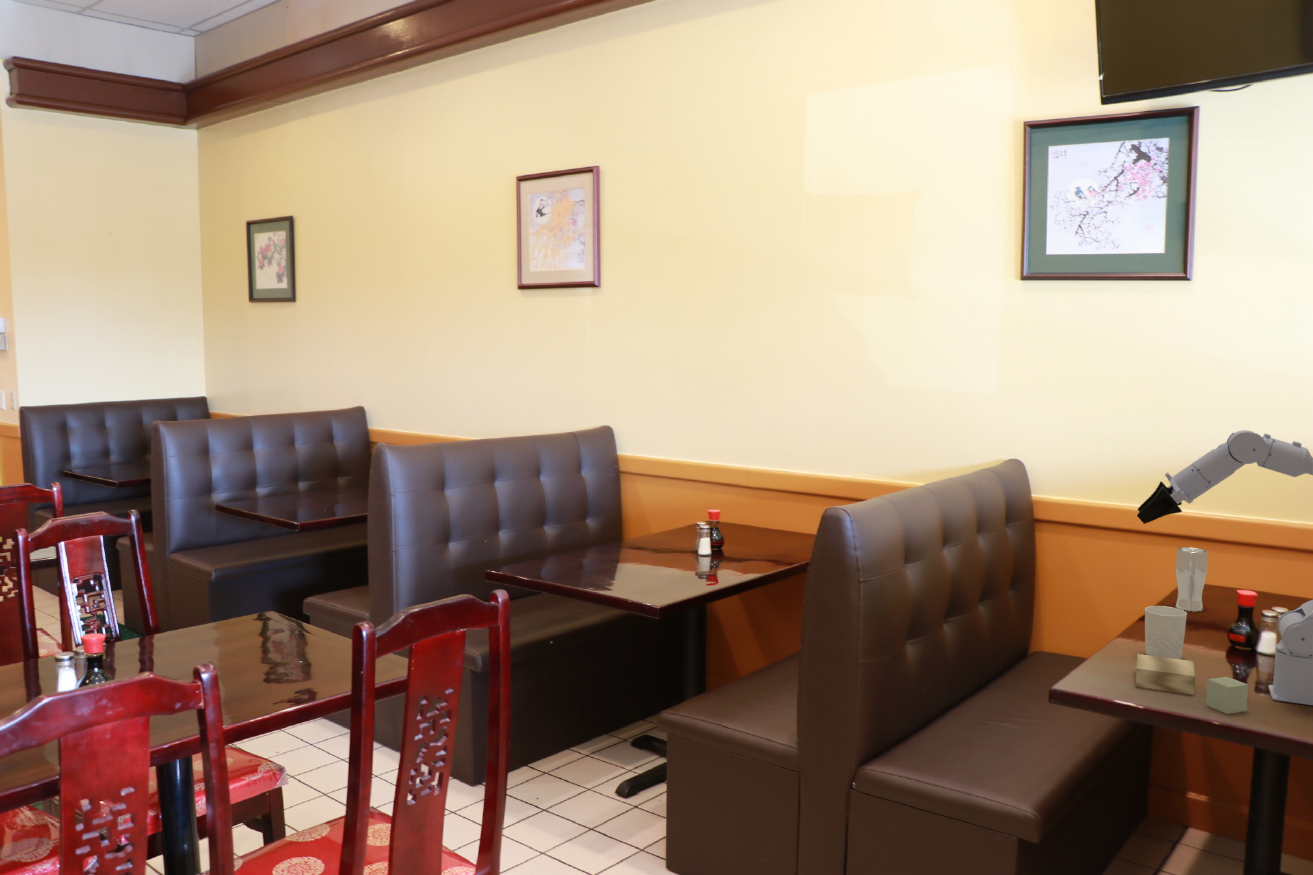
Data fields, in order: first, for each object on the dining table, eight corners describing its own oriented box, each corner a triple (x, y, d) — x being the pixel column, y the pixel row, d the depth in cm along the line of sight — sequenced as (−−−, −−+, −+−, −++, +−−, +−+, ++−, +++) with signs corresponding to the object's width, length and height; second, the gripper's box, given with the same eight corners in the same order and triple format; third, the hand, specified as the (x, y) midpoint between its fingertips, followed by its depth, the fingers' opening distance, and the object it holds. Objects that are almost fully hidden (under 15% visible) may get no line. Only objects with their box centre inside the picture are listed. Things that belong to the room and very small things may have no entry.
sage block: (1224, 702, 184) (1226, 676, 184) (1246, 711, 180) (1248, 684, 179) (1205, 705, 183) (1207, 678, 182) (1227, 714, 178) (1229, 687, 178)
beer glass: (1176, 610, 246) (1179, 551, 245) (1170, 603, 253) (1174, 546, 252) (1207, 613, 244) (1211, 553, 243) (1201, 606, 251) (1204, 547, 250)
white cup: (1185, 654, 212) (1187, 609, 211) (1183, 664, 205) (1185, 617, 204) (1144, 648, 216) (1146, 603, 215) (1141, 658, 209) (1143, 612, 208)
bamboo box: (1192, 680, 197) (1193, 661, 196) (1193, 696, 188) (1195, 676, 188) (1136, 673, 201) (1137, 653, 201) (1135, 688, 192) (1136, 668, 192)
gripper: (1186, 455, 198) (1127, 495, 203) (1189, 462, 185) (1125, 505, 190) (1211, 483, 196) (1151, 522, 201) (1215, 492, 183) (1151, 535, 189)
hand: (1140, 516), depth 196 cm, fingers open, 7 cm apart
